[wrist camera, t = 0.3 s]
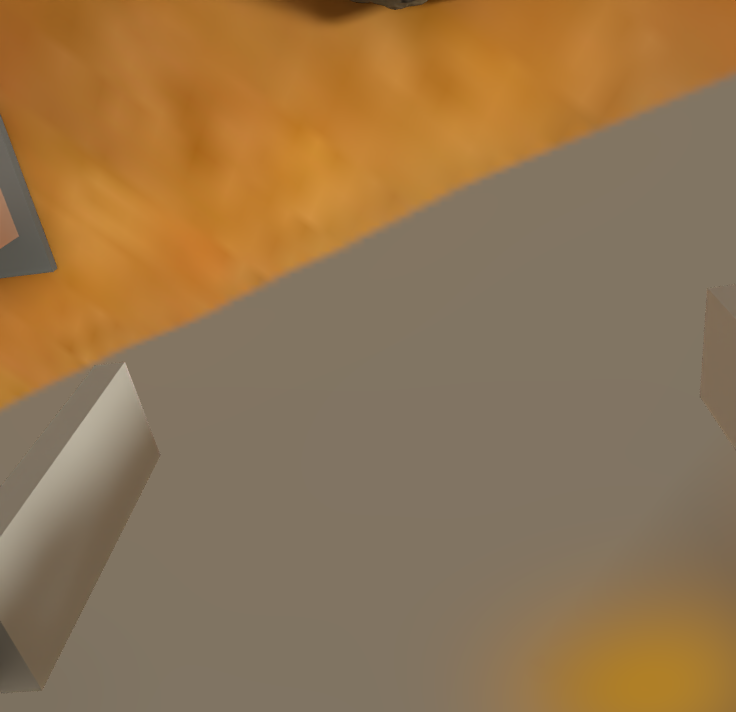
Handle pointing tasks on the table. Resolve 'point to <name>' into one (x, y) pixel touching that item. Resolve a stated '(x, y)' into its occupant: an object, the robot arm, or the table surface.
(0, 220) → the tile
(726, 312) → the robot arm
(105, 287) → the table surface
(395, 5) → the fossil
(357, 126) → the table surface
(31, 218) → the mat
